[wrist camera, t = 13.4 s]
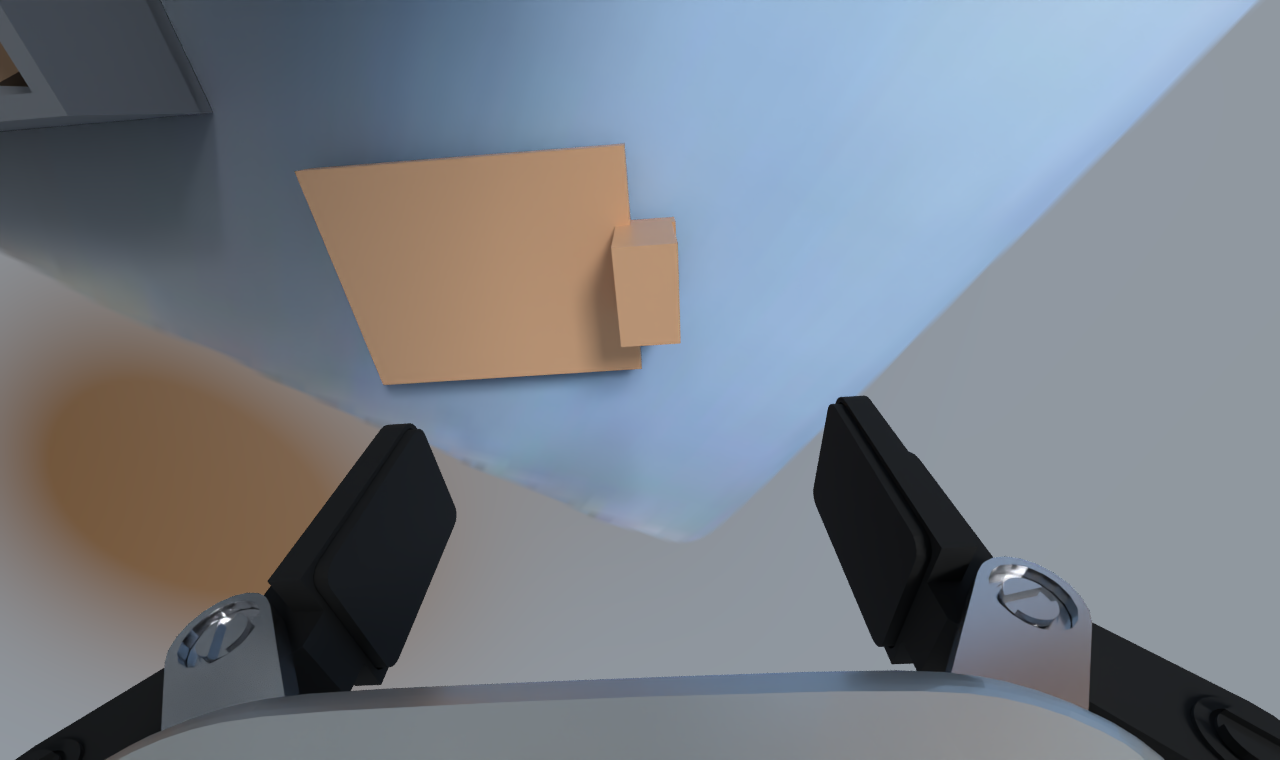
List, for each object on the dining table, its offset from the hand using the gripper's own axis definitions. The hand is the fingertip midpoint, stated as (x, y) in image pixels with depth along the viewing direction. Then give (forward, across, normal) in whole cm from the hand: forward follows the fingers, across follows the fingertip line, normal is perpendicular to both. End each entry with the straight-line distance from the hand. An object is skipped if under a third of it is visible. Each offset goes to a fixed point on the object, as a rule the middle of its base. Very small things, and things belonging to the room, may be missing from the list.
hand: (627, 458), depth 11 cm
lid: (+19, +7, +1) cm, 21 cm away
